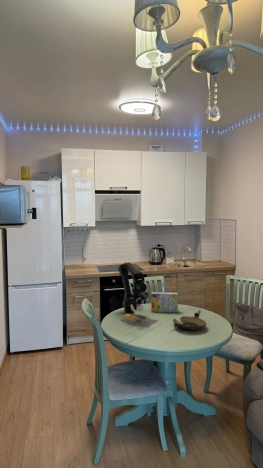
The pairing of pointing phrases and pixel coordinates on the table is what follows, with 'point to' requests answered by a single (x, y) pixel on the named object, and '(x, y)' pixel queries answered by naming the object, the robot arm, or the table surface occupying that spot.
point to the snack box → (164, 302)
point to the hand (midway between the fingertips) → (137, 309)
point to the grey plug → (139, 307)
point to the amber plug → (130, 317)
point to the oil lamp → (191, 321)
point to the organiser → (141, 321)
